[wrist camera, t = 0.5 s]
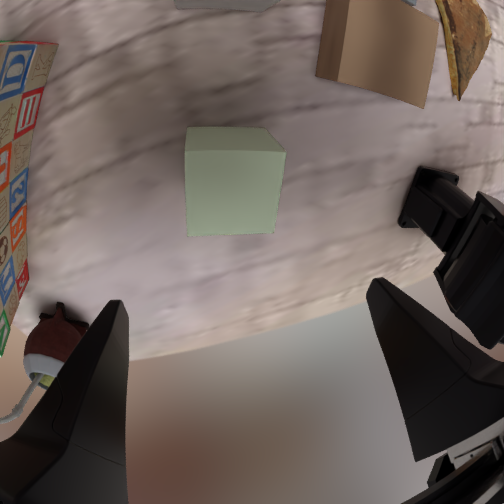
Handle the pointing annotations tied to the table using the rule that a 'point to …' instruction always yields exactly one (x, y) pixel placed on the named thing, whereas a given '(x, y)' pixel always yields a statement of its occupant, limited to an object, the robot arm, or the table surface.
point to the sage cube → (232, 180)
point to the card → (410, 2)
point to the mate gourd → (48, 352)
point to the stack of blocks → (17, 162)
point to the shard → (464, 39)
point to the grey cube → (226, 4)
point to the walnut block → (378, 47)
